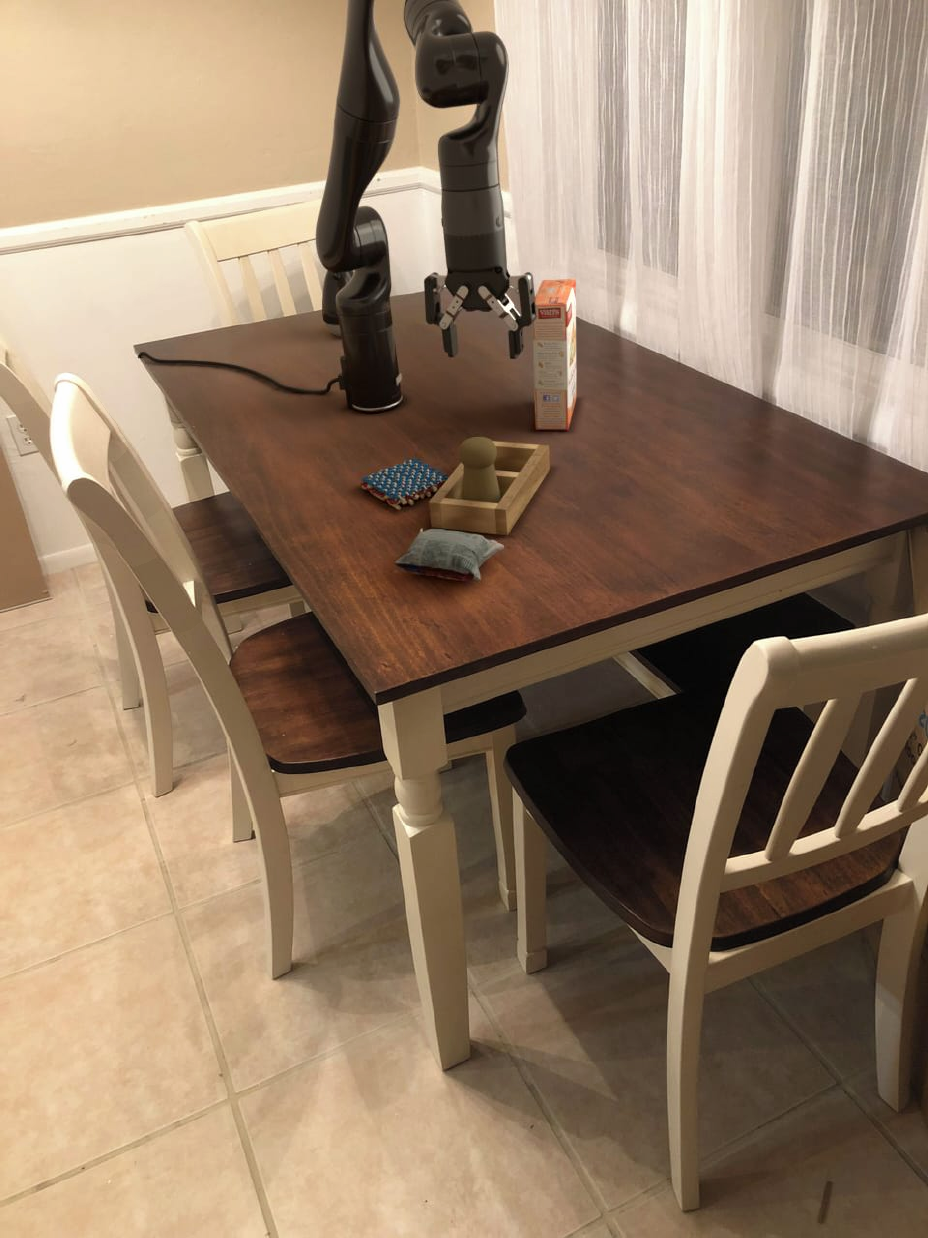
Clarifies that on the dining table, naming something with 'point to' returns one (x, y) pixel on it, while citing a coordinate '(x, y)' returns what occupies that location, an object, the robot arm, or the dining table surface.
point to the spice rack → (512, 487)
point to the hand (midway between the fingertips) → (483, 356)
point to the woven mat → (404, 482)
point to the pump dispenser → (333, 298)
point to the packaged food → (448, 554)
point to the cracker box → (554, 354)
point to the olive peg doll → (479, 470)
